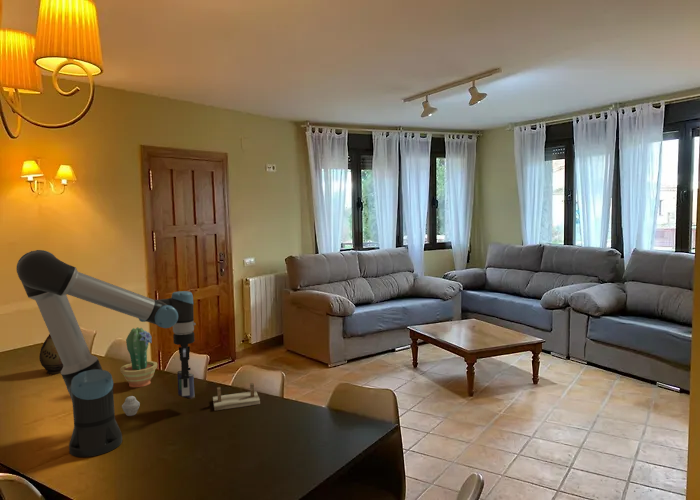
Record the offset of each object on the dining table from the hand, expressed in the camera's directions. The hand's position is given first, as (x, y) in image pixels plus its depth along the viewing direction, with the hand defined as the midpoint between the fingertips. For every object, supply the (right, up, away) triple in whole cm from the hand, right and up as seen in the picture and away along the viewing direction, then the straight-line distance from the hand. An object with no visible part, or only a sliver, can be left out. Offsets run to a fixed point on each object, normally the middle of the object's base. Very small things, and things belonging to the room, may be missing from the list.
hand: (185, 391), depth 187 cm
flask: (0, -2, 0) cm, 2 cm away
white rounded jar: (-19, -8, -4) cm, 21 cm away
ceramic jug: (-79, -5, +53) cm, 96 cm away
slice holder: (+18, -6, +5) cm, 20 cm away
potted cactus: (-30, -6, +31) cm, 43 cm away
